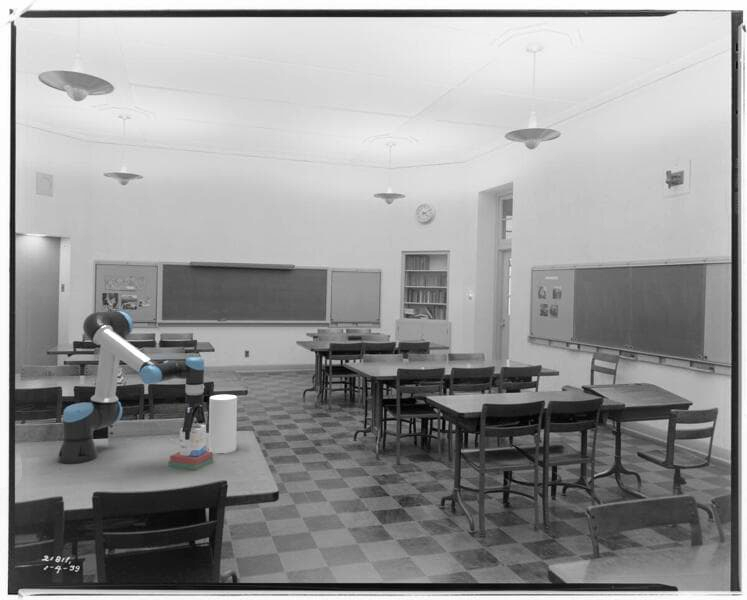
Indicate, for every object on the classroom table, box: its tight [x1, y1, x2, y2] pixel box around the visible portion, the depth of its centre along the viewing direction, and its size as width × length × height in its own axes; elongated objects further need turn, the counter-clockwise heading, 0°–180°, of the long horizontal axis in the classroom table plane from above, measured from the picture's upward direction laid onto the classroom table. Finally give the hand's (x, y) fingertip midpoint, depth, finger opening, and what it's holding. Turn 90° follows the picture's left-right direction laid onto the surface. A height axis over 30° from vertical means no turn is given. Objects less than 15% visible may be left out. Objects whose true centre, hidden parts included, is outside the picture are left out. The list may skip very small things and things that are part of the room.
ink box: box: [179, 423, 207, 456], centre depth 239 cm, size 9×8×13 cm
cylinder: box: [208, 393, 238, 454], centre depth 260 cm, size 12×12×25 cm
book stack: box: [168, 450, 214, 471], centre depth 239 cm, size 14×12×5 cm
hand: (193, 442), depth 240 cm, fingers open, 13 cm apart
